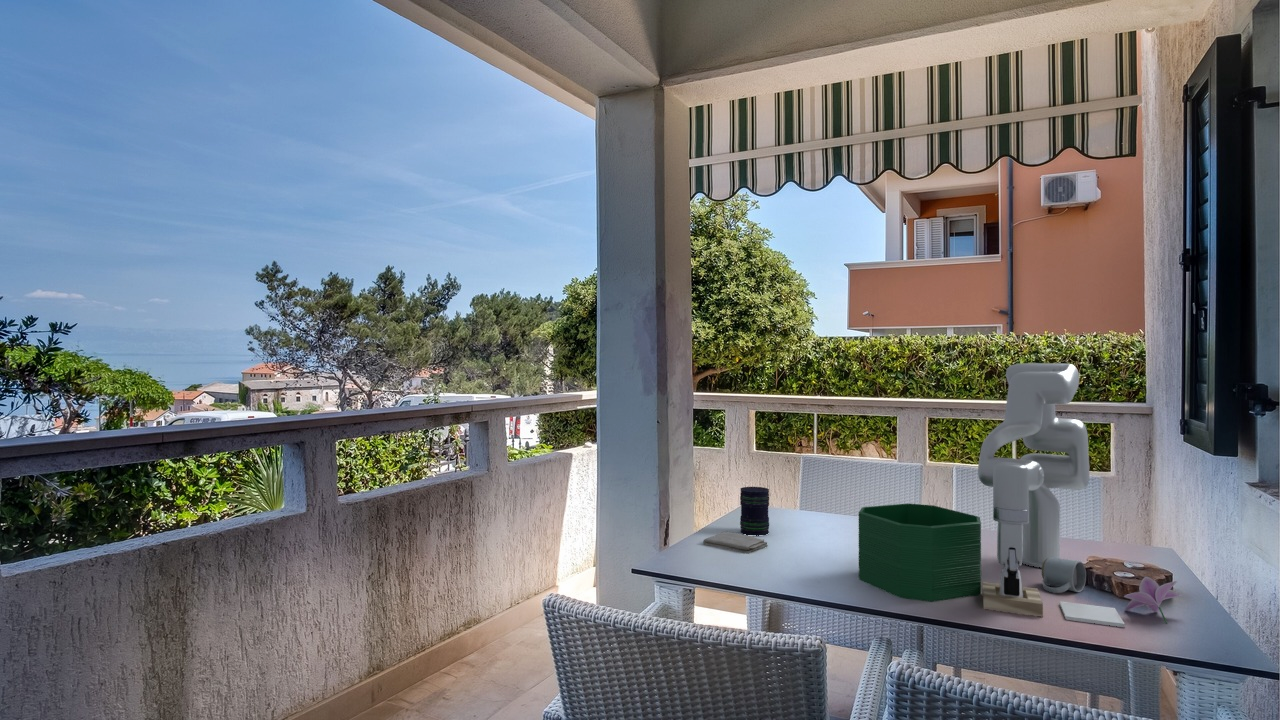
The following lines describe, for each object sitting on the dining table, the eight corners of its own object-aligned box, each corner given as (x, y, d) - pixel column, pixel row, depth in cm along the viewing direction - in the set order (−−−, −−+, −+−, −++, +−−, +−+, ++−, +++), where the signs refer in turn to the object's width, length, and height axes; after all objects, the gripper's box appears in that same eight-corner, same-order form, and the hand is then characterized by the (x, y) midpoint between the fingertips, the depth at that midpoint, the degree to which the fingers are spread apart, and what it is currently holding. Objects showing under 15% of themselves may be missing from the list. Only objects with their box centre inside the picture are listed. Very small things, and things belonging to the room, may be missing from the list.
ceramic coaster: (1059, 604, 165) (1059, 601, 165) (1114, 611, 160) (1114, 608, 160) (1065, 619, 155) (1065, 616, 155) (1124, 627, 150) (1124, 623, 150)
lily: (1193, 623, 156) (1173, 579, 161) (1199, 617, 147) (1177, 571, 152) (1132, 631, 161) (1114, 589, 165) (1134, 626, 152) (1115, 581, 156)
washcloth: (750, 555, 209) (750, 545, 209) (701, 546, 220) (701, 536, 220) (769, 548, 218) (769, 538, 218) (721, 539, 229) (721, 529, 229)
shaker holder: (982, 594, 172) (982, 582, 172) (1037, 601, 167) (1037, 588, 167) (983, 609, 161) (983, 596, 161) (1042, 617, 156) (1042, 603, 156)
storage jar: (757, 537, 229) (757, 492, 229) (734, 532, 236) (734, 488, 236) (775, 533, 236) (775, 489, 236) (752, 528, 243) (752, 485, 243)
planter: (846, 574, 189) (846, 507, 189) (921, 565, 198) (921, 501, 198) (915, 604, 165) (914, 528, 165) (997, 592, 174) (996, 520, 174)
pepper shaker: (1024, 603, 165) (1024, 557, 165) (1023, 610, 160) (1023, 563, 161) (999, 599, 168) (998, 554, 168) (997, 606, 163) (997, 559, 163)
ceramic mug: (1052, 581, 183) (1052, 552, 183) (1087, 589, 176) (1086, 559, 176) (1033, 589, 177) (1033, 559, 177) (1068, 598, 170) (1068, 566, 170)
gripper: (991, 507, 174) (992, 580, 173) (994, 520, 158) (994, 600, 158) (1025, 509, 170) (1026, 584, 170) (1031, 523, 155) (1032, 605, 155)
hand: (1011, 591), depth 164 cm, fingers closed on pepper shaker, 4 cm apart
